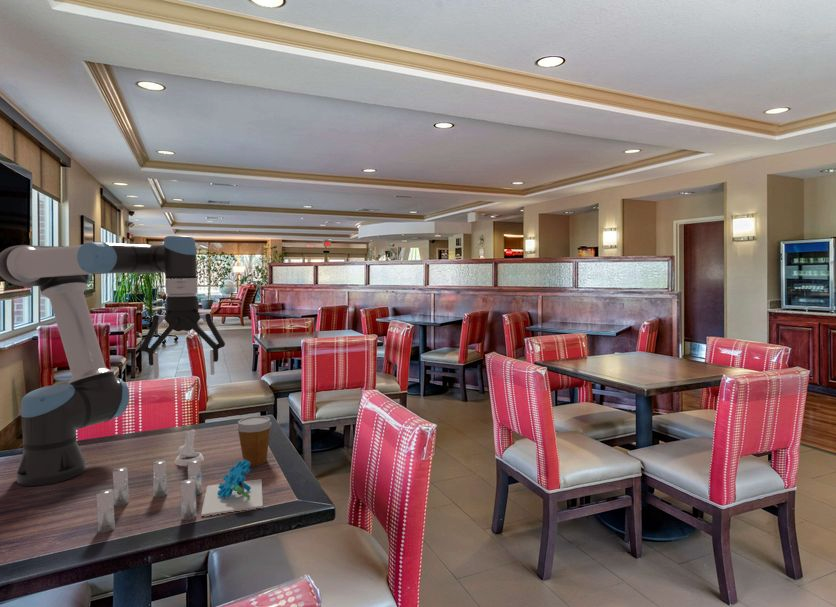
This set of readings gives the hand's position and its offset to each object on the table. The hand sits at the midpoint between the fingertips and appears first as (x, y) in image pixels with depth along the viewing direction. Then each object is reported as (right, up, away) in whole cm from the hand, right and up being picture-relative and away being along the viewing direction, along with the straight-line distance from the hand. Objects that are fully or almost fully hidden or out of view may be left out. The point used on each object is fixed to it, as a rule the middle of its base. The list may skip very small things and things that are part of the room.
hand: (185, 375), depth 136 cm
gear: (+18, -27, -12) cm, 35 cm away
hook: (-4, -26, +12) cm, 29 cm away
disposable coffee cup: (+15, -26, +11) cm, 32 cm away
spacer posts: (+2, -28, -19) cm, 34 cm away
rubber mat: (+17, -27, -13) cm, 35 cm away
